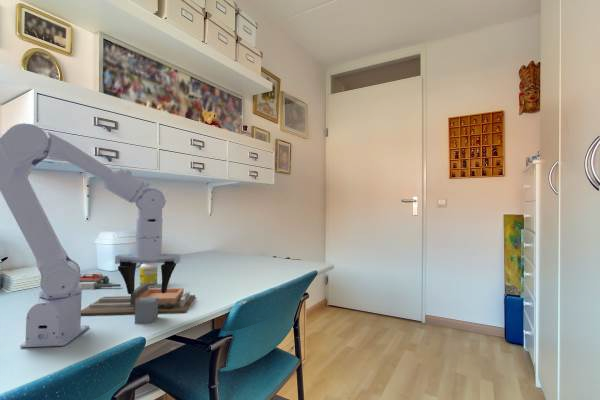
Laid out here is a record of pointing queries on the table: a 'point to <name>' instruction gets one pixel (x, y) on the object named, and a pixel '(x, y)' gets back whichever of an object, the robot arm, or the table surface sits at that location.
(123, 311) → the track
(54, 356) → the table surface
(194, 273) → the table surface
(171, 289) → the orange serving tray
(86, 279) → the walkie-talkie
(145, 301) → the block
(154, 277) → the supplement bottle
